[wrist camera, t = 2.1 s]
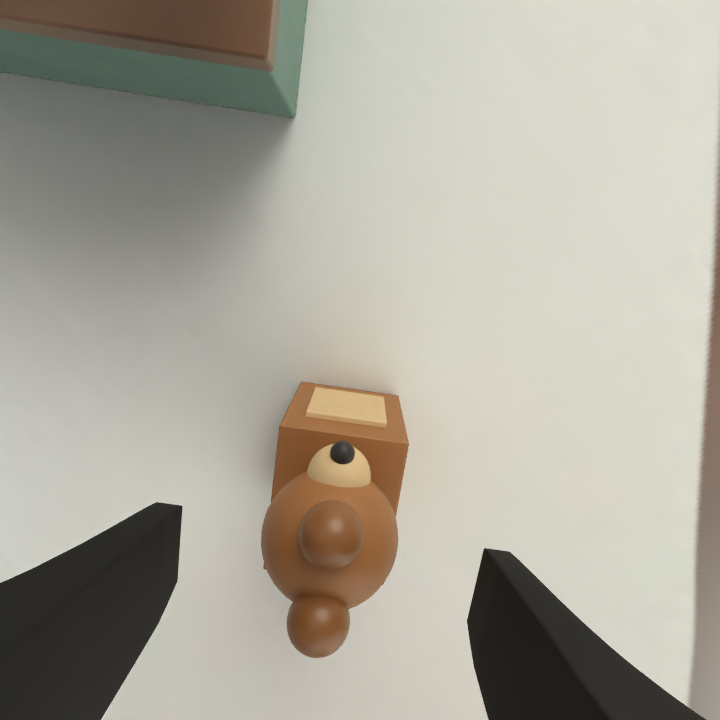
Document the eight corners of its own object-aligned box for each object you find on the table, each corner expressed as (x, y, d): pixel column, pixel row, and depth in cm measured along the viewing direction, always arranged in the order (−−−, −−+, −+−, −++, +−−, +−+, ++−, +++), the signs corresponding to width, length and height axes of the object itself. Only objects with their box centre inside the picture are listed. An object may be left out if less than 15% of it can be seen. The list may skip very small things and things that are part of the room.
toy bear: (287, 494, 18) (224, 688, 10) (302, 369, 17) (245, 475, 9) (379, 507, 18) (389, 711, 10) (400, 383, 17) (431, 501, 9)
